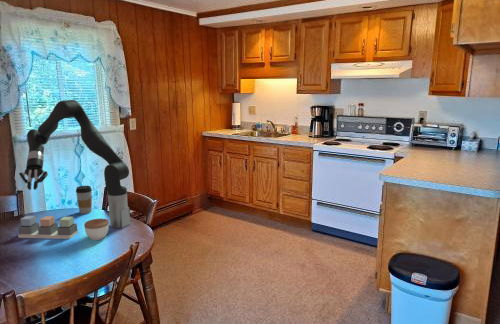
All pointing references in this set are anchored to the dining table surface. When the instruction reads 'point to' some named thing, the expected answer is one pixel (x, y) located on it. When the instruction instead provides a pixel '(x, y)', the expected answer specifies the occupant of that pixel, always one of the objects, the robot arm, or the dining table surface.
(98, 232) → the lidded jar
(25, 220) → the slate key
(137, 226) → the dining table surface
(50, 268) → the dining table surface
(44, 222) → the terracotta key
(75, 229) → the keypad board
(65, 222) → the sage key
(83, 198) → the coffee cup
